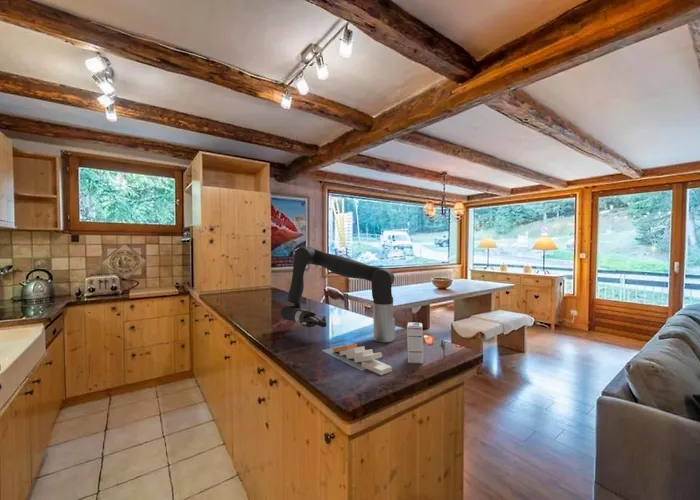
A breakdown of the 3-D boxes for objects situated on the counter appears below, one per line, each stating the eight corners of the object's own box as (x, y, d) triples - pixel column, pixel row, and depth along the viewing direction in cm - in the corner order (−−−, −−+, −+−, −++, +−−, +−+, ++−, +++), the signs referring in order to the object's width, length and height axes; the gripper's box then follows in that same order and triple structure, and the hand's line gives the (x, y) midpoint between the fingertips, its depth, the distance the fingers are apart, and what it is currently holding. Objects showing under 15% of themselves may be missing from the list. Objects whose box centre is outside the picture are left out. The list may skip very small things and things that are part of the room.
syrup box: (423, 366, 110) (423, 326, 110) (407, 365, 111) (406, 325, 111) (423, 360, 116) (422, 322, 116) (407, 359, 117) (407, 321, 117)
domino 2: (349, 348, 122) (364, 345, 115) (350, 352, 122) (365, 350, 114) (339, 351, 119) (353, 348, 112) (340, 355, 119) (354, 353, 111)
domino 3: (356, 352, 118) (372, 348, 111) (357, 356, 118) (373, 353, 111) (346, 354, 115) (361, 351, 108) (347, 359, 115) (362, 356, 108)
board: (341, 347, 131) (341, 345, 131) (382, 366, 110) (382, 363, 110) (321, 352, 125) (321, 350, 125) (361, 373, 104) (361, 370, 104)
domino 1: (342, 345, 126) (356, 343, 118) (343, 349, 125) (357, 347, 118) (332, 348, 123) (346, 345, 115) (333, 352, 122) (347, 350, 115)
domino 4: (364, 355, 115) (381, 352, 107) (365, 359, 114) (382, 356, 107) (353, 358, 112) (370, 355, 104) (354, 362, 111) (372, 360, 104)
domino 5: (372, 358, 111) (391, 366, 103) (372, 362, 111) (391, 371, 103) (361, 361, 108) (381, 370, 100) (361, 366, 108) (381, 375, 100)
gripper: (292, 312, 143) (311, 318, 129) (317, 308, 151) (337, 314, 137) (293, 327, 143) (311, 336, 129) (317, 323, 151) (337, 330, 137)
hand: (324, 324), depth 133 cm, fingers closed
